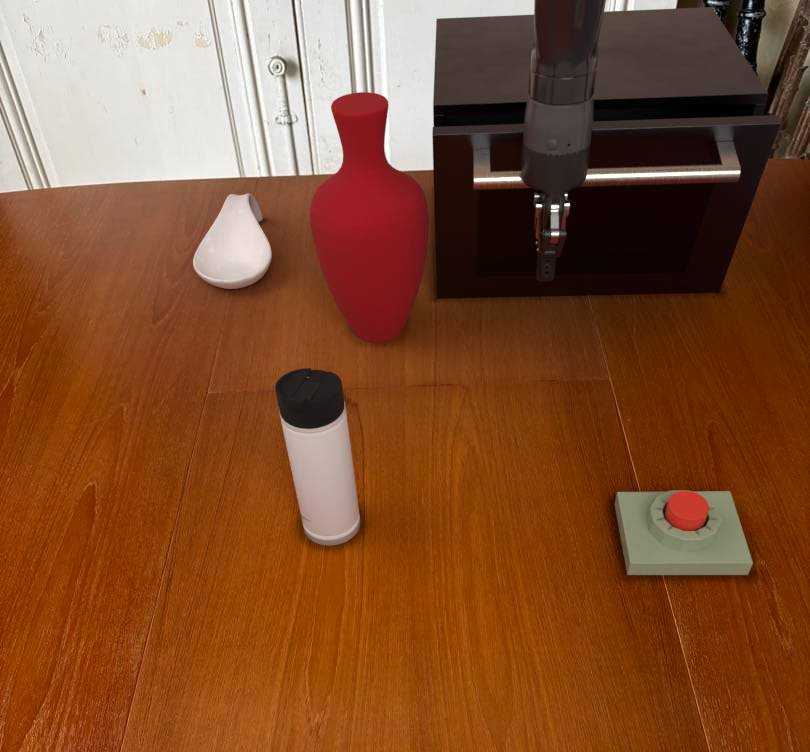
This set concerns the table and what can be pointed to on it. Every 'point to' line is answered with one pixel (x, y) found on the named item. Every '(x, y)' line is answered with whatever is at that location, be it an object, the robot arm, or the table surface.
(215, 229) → the spoon rest
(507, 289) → the oven door
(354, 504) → the travel mug
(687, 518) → the button
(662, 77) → the oven
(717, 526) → the timer box
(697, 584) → the table surface
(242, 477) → the table surface
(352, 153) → the vase
